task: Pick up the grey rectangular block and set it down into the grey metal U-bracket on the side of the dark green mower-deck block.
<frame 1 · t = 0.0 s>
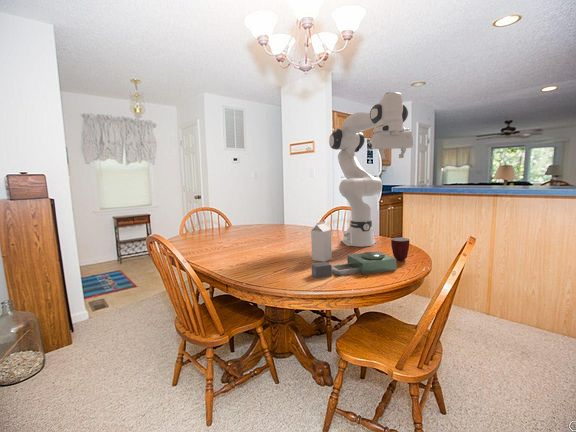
hand: (392, 158, 143), 48 cm above the table, fingers open, 8 cm apart
mug: (400, 260, 143), on the table
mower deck: (371, 267, 135), on the table
grey rectangular block: (321, 275, 128), on the table
milk carton: (322, 259, 151), on the table
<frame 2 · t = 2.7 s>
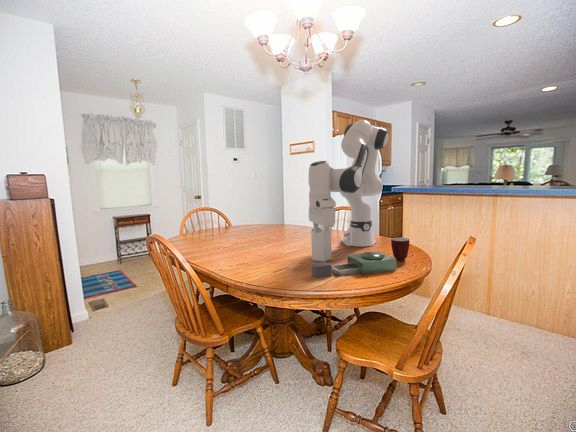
hand: (321, 234, 125), 17 cm above the table, fingers open, 8 cm apart
nothing on the table moved.
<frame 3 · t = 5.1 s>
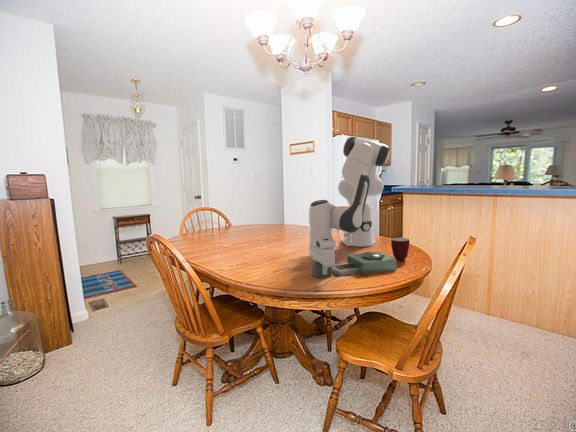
hand: (321, 271, 127), 2 cm above the table, fingers closed on grey rectangular block, 5 cm apart
grey rectangular block: (321, 275, 127), on the table, touching gripper
everything else where it was.
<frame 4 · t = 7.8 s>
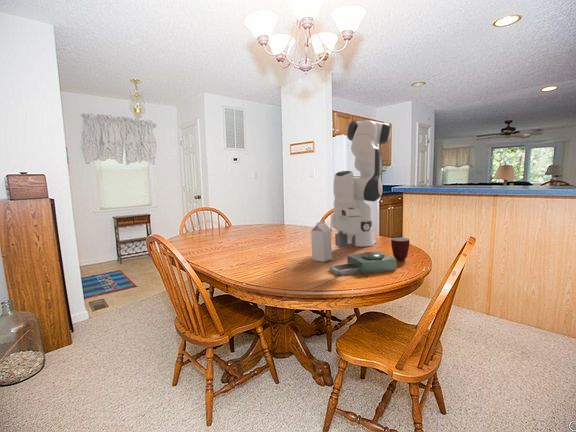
hand: (345, 241, 129), 13 cm above the table, fingers closed on grey rectangular block, 5 cm apart
grey rectangular block: (345, 245, 130), point 11 cm above the table, touching gripper
everything else where it was.
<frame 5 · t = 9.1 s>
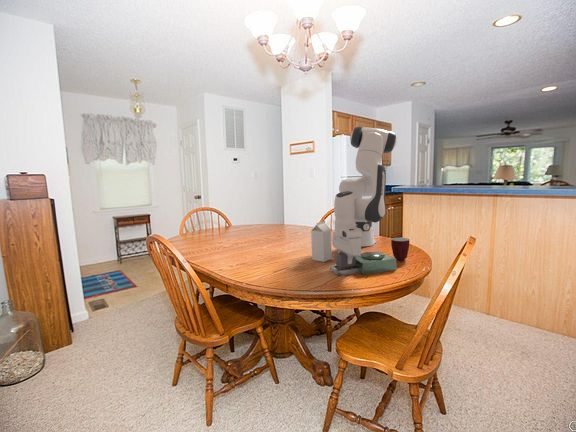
hand: (345, 261, 131), 4 cm above the table, fingers closed on grey rectangular block, 5 cm apart
grey rectangular block: (345, 265, 131), point 3 cm above the table, touching gripper
everything else where it was.
when the fingers open (3 cm above the table, at t = 10.3 s): grey rectangular block drops 2 cm, resting in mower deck.
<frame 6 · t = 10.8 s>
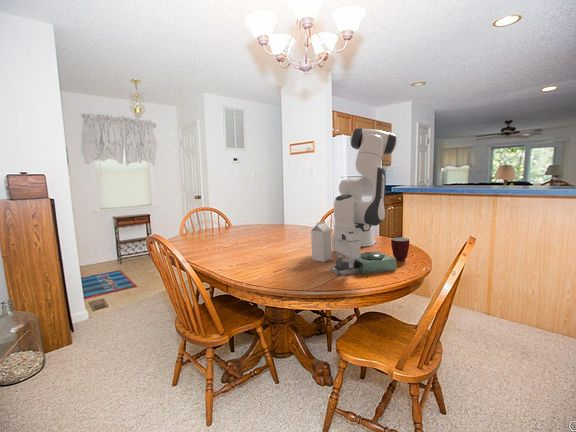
hand: (345, 264, 131), 3 cm above the table, fingers open, 8 cm apart
grey rectangular block: (345, 271, 131), resting in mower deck
everything else where it was.
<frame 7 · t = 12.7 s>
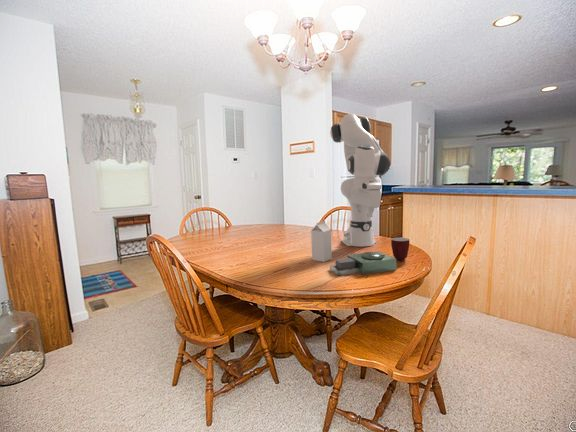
hand: (364, 215, 133), 23 cm above the table, fingers open, 8 cm apart
nothing on the table moved.
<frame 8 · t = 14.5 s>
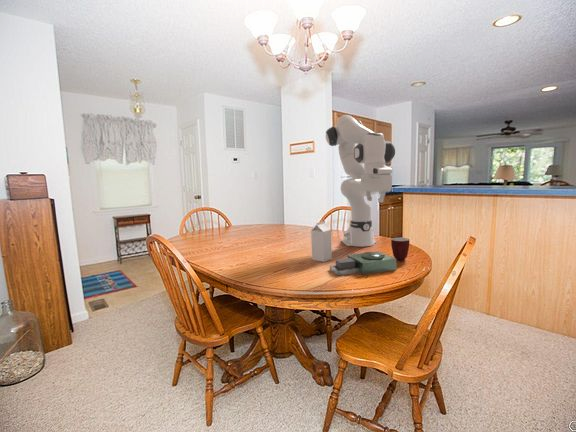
hand: (375, 201, 135), 29 cm above the table, fingers open, 8 cm apart
nothing on the table moved.
at the end: grey rectangular block 0.0 cm from the target spot on the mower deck, point 0.0 cm above the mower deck's base; grey rectangular block tilted 0°; the gripper is holding nothing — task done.
